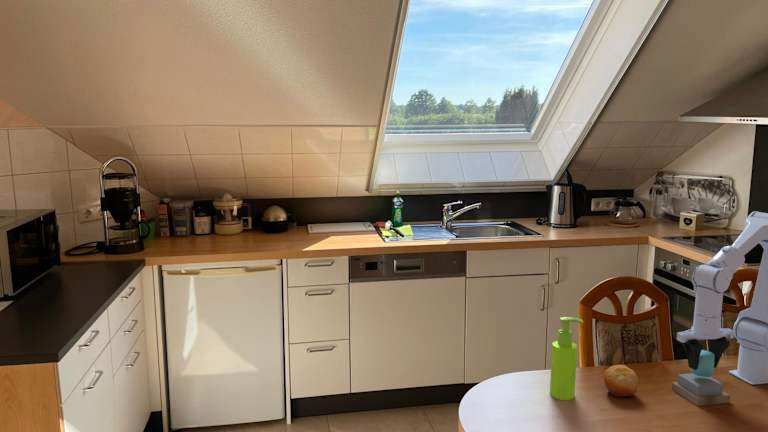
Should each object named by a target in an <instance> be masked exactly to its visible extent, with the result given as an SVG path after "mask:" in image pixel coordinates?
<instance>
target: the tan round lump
mask: <svg viewBox="0 0 768 432" xmlns="http://www.w3.org/2000/svg"><path fill="white" fill-rule="evenodd" d="M639 381H640V380H639V377H638V376H637V373H636V372H635V370H633V369H631V368H630V367H629V366H627V365H625V364H614V365H612V366H609V367H608V368H607V369H606V370H605V371H604V373H603V383H604V385H605V387H606V389H607V390H608V391H609V392H610V394H611V395H612V396H614V397H620V398H621V397H632V396H633V395H634V394H636V393H637V390H638V387H639Z"/></svg>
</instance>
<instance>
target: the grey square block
mask: <svg viewBox="0 0 768 432" xmlns="http://www.w3.org/2000/svg"><path fill="white" fill-rule="evenodd" d="M677 382H678V383H677V384H679V385H680V386H682V387H683V388H685V389H686V390H688V391H690V392H691V393H693V394H694V395H696V396H706V395H716V394H722V392H723V391H724V384H723V383H722V382H721V381H719V380H716V379H715V378H713V376H711V377H702V376H698V375H695V374H693V373H691V372H690V373H681V374H680V373H679V374H678V375H677Z"/></svg>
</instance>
